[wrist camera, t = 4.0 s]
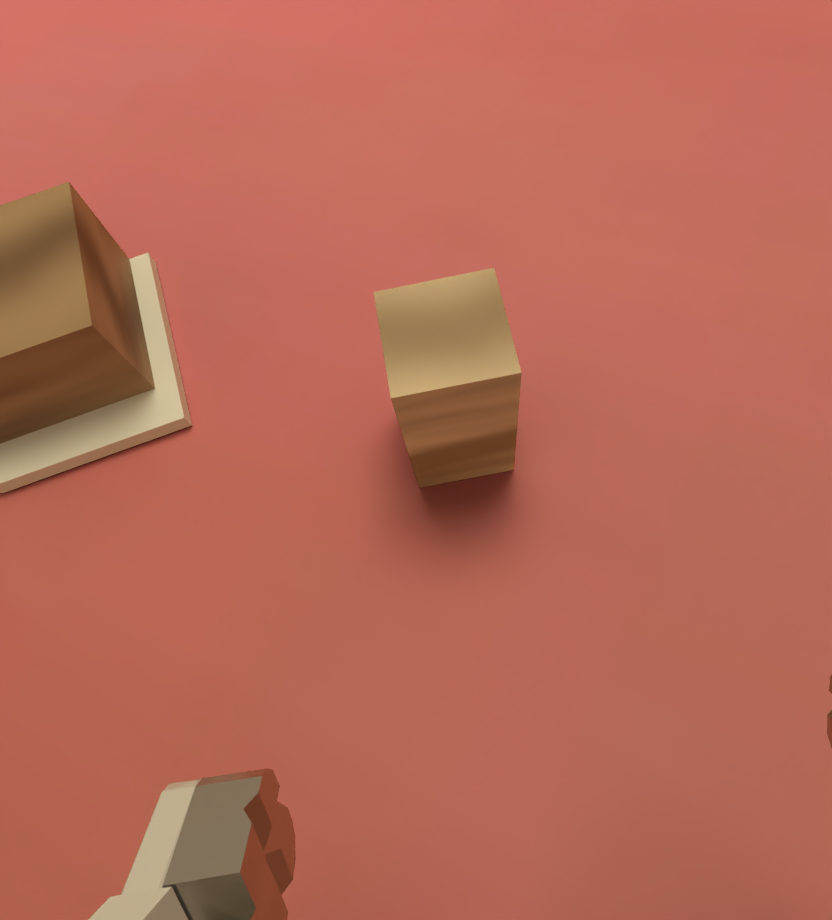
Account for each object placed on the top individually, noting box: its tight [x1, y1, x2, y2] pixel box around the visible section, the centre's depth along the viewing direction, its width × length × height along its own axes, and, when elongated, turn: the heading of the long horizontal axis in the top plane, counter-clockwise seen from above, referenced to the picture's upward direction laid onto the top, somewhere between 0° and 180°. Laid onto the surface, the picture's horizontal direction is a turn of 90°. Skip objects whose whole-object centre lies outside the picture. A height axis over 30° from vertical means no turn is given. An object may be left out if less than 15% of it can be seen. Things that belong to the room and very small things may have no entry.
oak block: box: [374, 268, 521, 488], centre depth 24 cm, size 4×4×8 cm
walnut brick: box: [0, 182, 155, 444], centre depth 28 cm, size 8×8×5 cm
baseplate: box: [0, 253, 192, 493], centre depth 31 cm, size 10×9×1 cm
